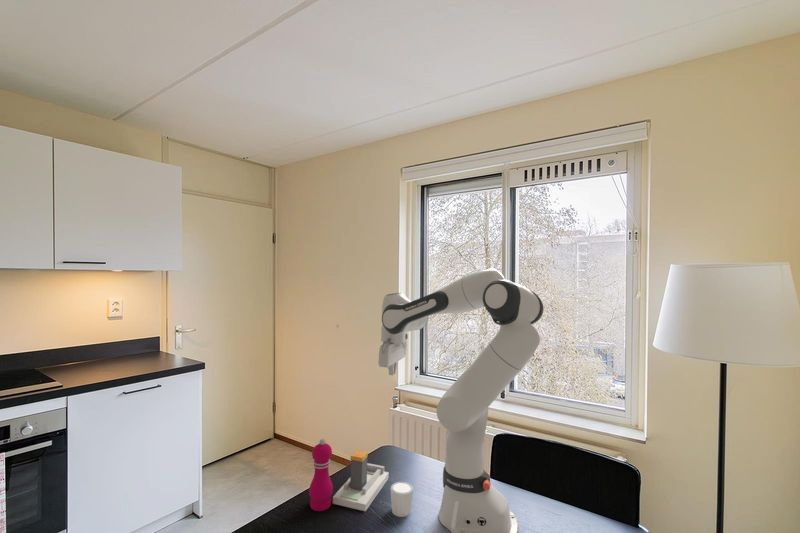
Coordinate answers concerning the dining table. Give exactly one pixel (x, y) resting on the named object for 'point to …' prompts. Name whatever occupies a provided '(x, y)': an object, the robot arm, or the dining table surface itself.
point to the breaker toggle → (358, 470)
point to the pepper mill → (321, 478)
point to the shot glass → (401, 498)
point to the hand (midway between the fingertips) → (392, 374)
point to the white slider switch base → (368, 492)
